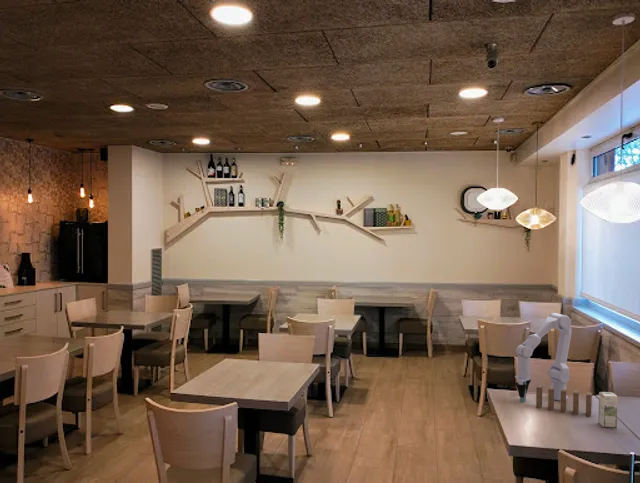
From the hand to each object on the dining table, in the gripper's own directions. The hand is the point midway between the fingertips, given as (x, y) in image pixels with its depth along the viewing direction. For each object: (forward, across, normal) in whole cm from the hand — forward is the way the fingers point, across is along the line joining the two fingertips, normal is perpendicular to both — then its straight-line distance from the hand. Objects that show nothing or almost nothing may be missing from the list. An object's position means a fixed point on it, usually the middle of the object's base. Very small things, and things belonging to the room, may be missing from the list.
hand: (523, 395), depth 276 cm
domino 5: (+3, +5, +25) cm, 26 cm away
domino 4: (+3, +5, +20) cm, 20 cm away
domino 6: (+3, +5, +30) cm, 31 cm away
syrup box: (+3, +16, +39) cm, 42 cm away
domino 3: (+3, +5, +14) cm, 15 cm away
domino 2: (+3, +5, +8) cm, 10 cm away
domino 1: (+3, 0, 0) cm, 3 cm away
